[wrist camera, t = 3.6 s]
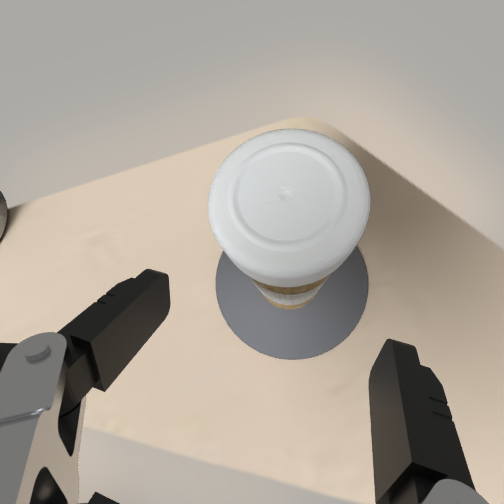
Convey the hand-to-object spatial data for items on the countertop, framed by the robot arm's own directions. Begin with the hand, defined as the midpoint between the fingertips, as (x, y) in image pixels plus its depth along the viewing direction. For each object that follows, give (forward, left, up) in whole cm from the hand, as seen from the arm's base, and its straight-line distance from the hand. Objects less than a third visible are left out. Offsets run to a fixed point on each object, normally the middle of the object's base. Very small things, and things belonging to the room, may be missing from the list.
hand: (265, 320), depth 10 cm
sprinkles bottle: (0, +3, -10) cm, 11 cm away
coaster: (0, +3, -10) cm, 11 cm away
